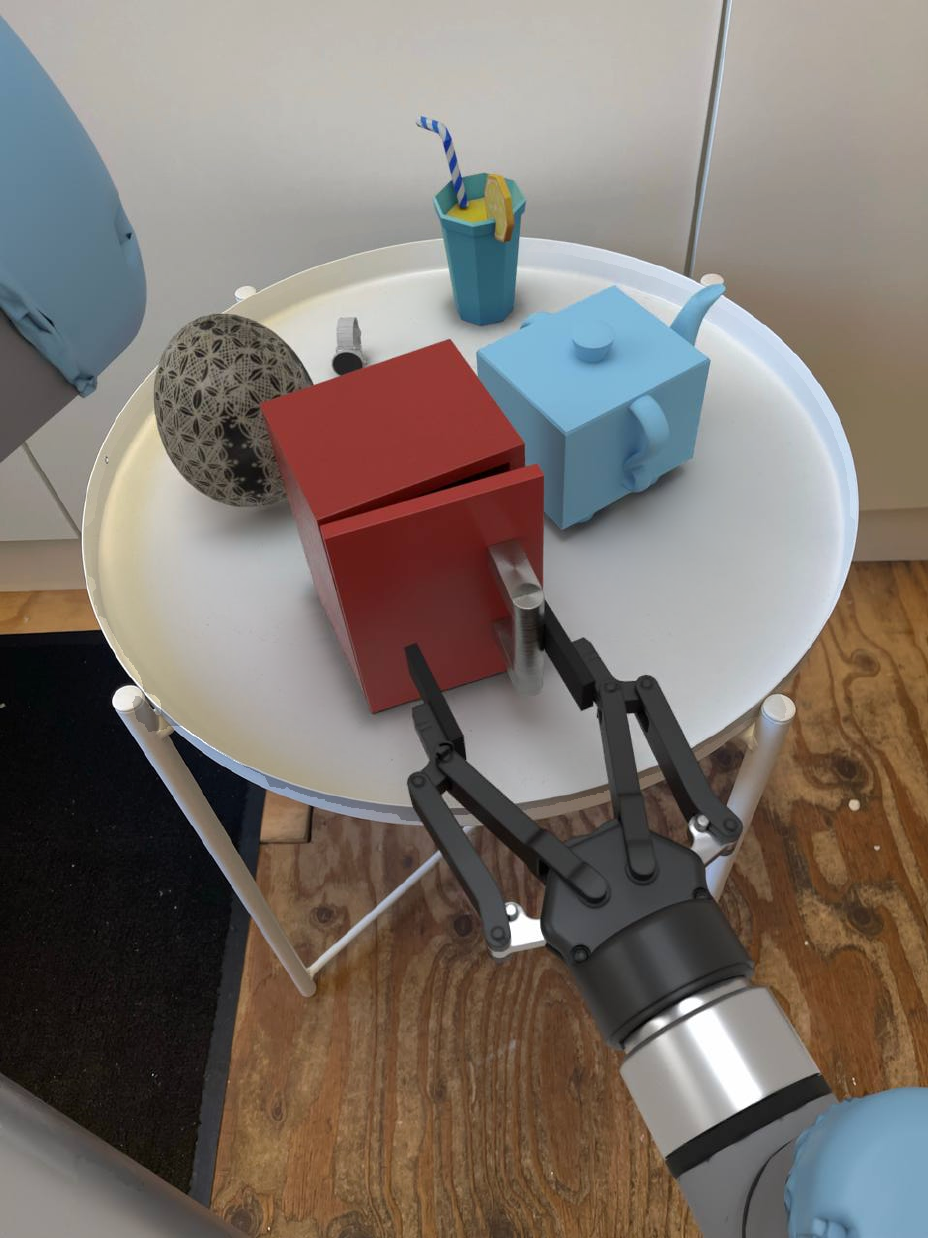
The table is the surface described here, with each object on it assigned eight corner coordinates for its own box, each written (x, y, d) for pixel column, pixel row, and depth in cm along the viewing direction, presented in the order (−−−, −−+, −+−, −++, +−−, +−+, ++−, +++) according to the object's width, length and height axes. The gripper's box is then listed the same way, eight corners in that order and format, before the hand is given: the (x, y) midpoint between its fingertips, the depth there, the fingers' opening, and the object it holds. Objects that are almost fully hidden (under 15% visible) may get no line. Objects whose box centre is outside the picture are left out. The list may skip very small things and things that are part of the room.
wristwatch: (336, 391, 82) (326, 343, 78) (340, 353, 85) (330, 305, 81) (370, 389, 82) (361, 341, 78) (373, 351, 85) (365, 303, 81)
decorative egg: (197, 557, 72) (128, 405, 60) (181, 451, 79) (117, 295, 67) (349, 519, 74) (312, 363, 62) (321, 418, 80) (283, 259, 68)
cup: (400, 284, 90) (379, 125, 78) (466, 251, 93) (455, 91, 81) (492, 358, 84) (484, 196, 71) (560, 320, 86) (564, 157, 74)
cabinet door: (570, 718, 62) (580, 541, 48) (392, 777, 61) (347, 612, 46) (537, 647, 66) (537, 462, 51) (367, 701, 64) (319, 525, 50)
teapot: (583, 566, 70) (592, 435, 59) (464, 443, 78) (454, 308, 67) (769, 460, 75) (808, 321, 64) (640, 354, 83) (655, 216, 72)
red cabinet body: (527, 633, 67) (525, 442, 52) (366, 700, 64) (316, 520, 50) (467, 534, 72) (450, 337, 57) (316, 593, 70) (258, 402, 55)
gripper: (486, 1134, 44) (323, 732, 56) (853, 947, 48) (623, 609, 60) (477, 1106, 38) (297, 662, 50) (900, 894, 41) (633, 530, 54)
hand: (474, 634), depth 55 cm, fingers open, 7 cm apart
